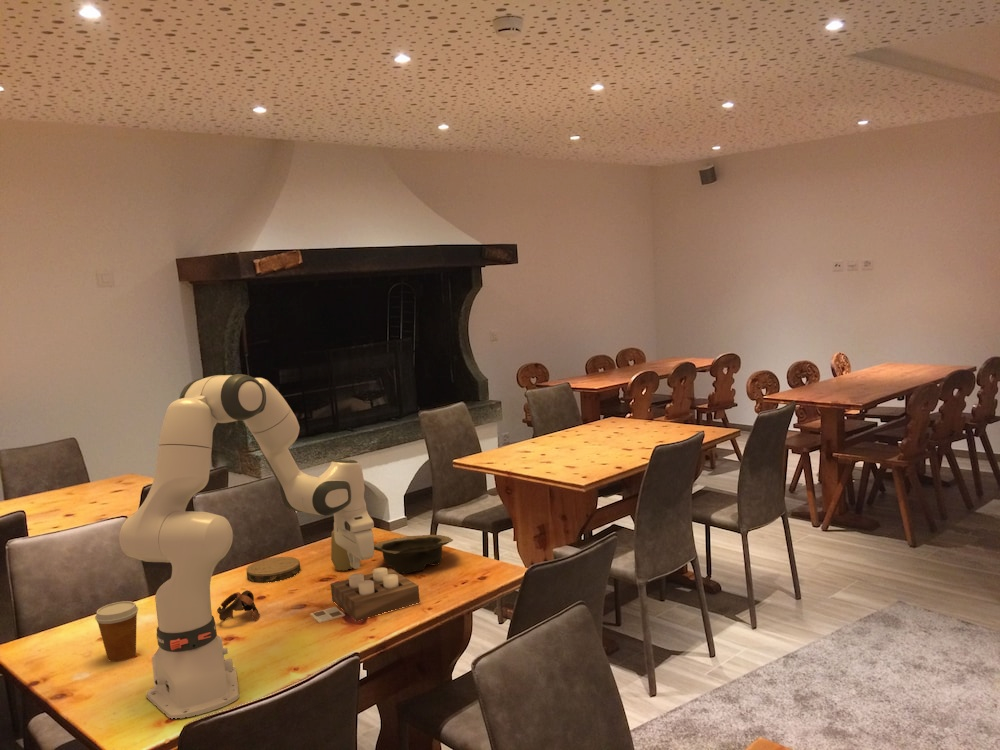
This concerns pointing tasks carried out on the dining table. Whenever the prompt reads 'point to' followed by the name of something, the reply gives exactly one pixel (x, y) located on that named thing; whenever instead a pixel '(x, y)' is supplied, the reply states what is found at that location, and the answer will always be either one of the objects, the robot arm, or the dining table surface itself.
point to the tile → (327, 614)
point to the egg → (355, 580)
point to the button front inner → (366, 587)
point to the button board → (374, 597)
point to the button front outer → (390, 581)
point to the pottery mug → (238, 605)
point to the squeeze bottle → (339, 555)
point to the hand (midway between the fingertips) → (355, 567)
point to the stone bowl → (412, 551)
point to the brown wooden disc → (273, 569)
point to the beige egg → (379, 574)
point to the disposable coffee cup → (118, 629)
